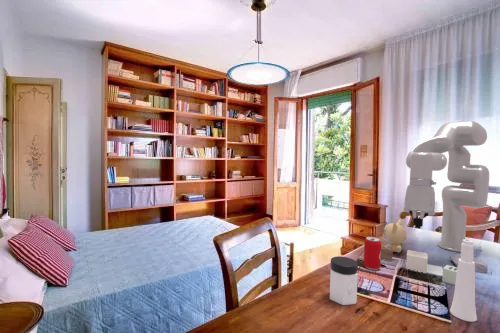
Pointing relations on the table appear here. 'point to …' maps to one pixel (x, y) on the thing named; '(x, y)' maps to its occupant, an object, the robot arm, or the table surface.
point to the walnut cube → (386, 252)
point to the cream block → (417, 261)
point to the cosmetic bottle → (465, 285)
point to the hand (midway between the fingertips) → (417, 227)
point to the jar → (343, 280)
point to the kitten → (395, 235)
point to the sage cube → (449, 274)
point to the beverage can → (372, 253)
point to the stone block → (479, 264)
